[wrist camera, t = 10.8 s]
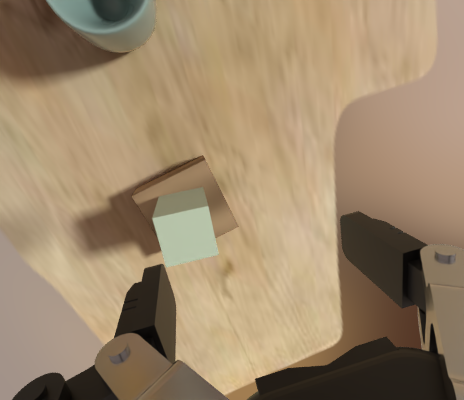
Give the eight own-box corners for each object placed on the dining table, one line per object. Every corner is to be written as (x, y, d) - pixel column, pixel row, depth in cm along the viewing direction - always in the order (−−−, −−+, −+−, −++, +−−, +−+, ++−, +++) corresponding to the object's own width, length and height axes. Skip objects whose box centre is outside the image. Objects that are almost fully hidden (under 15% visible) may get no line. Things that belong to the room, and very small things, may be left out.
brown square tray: (137, 187, 34) (131, 196, 30) (202, 154, 34) (205, 159, 31) (172, 245, 37) (171, 260, 33) (232, 215, 37) (238, 226, 34)
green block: (158, 196, 31) (152, 218, 24) (202, 186, 32) (208, 205, 25) (169, 236, 33) (166, 267, 26) (211, 226, 33) (218, 254, 26)
